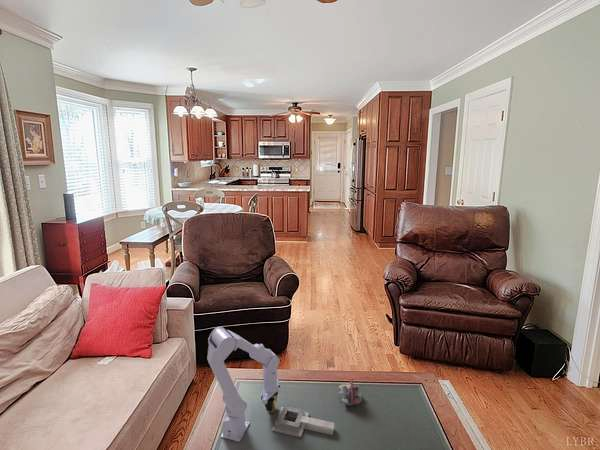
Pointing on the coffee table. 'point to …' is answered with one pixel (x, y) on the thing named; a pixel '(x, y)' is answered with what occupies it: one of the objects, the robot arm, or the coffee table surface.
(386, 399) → the coffee table surface
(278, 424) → the white stepped square fixture
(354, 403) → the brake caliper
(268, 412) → the pin
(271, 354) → the robot arm
